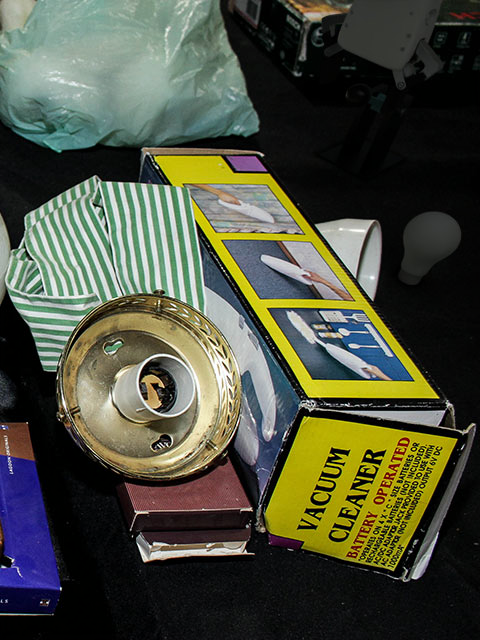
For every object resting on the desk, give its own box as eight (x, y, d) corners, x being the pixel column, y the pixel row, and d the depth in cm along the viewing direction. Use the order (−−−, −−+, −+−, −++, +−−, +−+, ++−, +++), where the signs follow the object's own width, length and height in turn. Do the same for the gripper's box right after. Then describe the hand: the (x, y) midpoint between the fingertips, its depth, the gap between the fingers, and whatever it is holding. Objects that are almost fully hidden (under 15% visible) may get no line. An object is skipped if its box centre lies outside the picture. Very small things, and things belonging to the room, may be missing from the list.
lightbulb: (433, 280, 115) (473, 211, 107) (426, 306, 111) (467, 237, 104) (383, 264, 117) (419, 196, 110) (375, 289, 113) (411, 220, 106)
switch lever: (357, 109, 121) (371, 87, 119) (337, 99, 123) (350, 78, 121) (391, 120, 129) (404, 100, 128) (371, 111, 131) (385, 91, 130)
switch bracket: (362, 185, 131) (394, 114, 123) (316, 161, 136) (344, 91, 128) (401, 165, 135) (435, 95, 127) (355, 142, 140) (385, 74, 132)
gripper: (492, -9, 107) (429, 115, 119) (366, -55, 117) (319, 64, 129) (457, 4, 104) (397, 131, 116) (331, -43, 114) (287, 78, 126)
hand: (356, 96), depth 122 cm, fingers open, 9 cm apart
